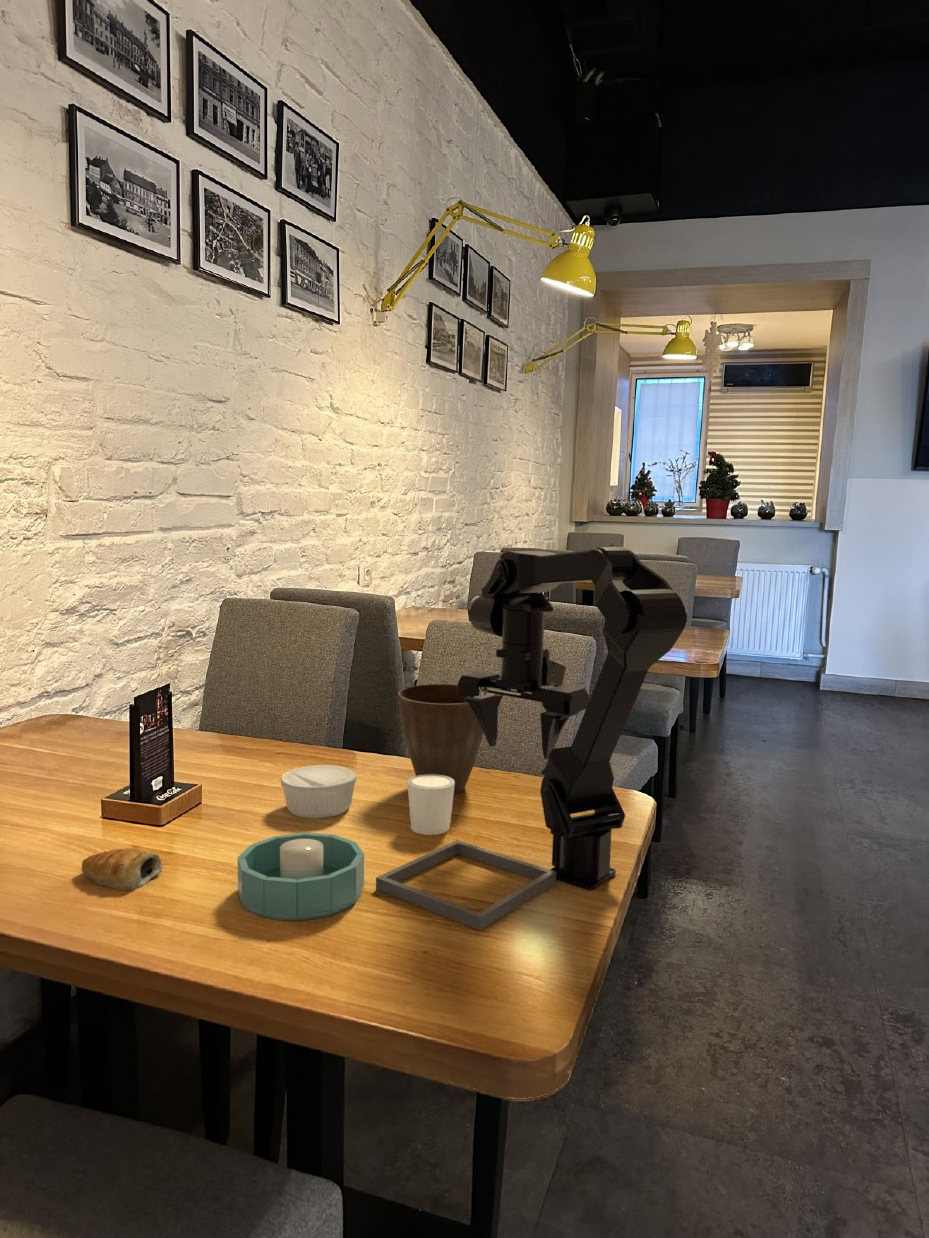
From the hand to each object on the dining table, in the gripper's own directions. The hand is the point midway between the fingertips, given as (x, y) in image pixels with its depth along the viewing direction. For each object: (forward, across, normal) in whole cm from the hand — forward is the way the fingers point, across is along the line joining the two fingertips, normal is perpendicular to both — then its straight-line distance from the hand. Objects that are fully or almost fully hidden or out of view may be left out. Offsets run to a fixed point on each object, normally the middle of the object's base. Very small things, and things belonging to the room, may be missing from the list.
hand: (519, 752), depth 118 cm
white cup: (+12, +11, +6) cm, 17 cm away
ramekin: (+12, +29, +11) cm, 33 cm away
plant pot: (+12, +21, -9) cm, 26 cm away
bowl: (+12, +9, +32) cm, 35 cm away
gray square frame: (+12, -5, +18) cm, 22 cm away
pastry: (+12, +28, +43) cm, 53 cm away
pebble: (+11, +9, +32) cm, 35 cm away
